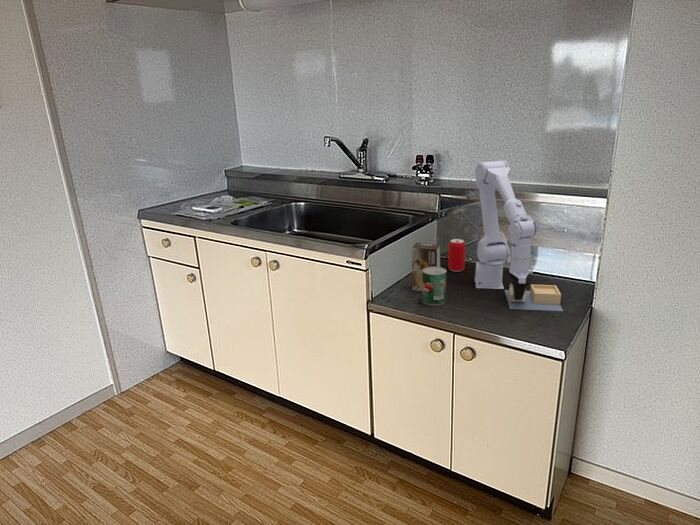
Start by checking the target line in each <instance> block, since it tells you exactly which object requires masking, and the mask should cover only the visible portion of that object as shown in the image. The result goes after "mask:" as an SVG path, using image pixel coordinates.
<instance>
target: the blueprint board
mask: <svg viewBox="0 0 700 525" xmlns="http://www.w3.org/2000/svg"><path fill="white" fill-rule="evenodd" d="M509 290H510V289H504V293H505V296H506V301H507V303H508V307H509V309H510V310H530V311H533V310H534V311H547V312H548V311H552V312H555V311H556V312H564V309H563V308H562V306H561V299H562V293H561V291H560V290H559V288H558V287H557V285H555V284H553V285H551V284H530V290H526V297H525V302H512V301H510V298H509Z"/></svg>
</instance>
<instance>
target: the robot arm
mask: <svg viewBox="0 0 700 525" xmlns="http://www.w3.org/2000/svg"><path fill="white" fill-rule="evenodd" d="M510 173H511V168H510V165H509V163H508V162H507V160H504V159H503V160H502V159H501V160H495V161H479V162H477V165H476V167H475V170H474V175H475V184H476V187H477V188H478V189H479V193H478V194H479V201H480V208H481V218H482V227H483V234H484V235H483V237H482V238H480V240H479V241H477V252H476V253H477V254H476V256H477V258H478V260H479V261H476V263H475V273H474V274H475V275H474V282H475V284H474V285H475V288H476V289H495V290H496V289H497V290H499V289H500V290H505V287H504V284H503V272H504V264H505V263H506V261H507V260H508V259H509V257H510V266H509V267H510V268H509V271H508V272H507V273H508V275H509V277H510V284H513V288H514V297H515V300H522V298H523V295H524V292H525V289H526V290H527V287H528V286H529V285H530V282H531V281H530V279H527V277H528V276H529V274H533V272H534V271H533V269H532V268H531V269H530V262H531V261H530V259H531V251H532V241H533V240H532V239H533V238H534V237H535V236H536V235H537V231H538V230H537V228H538V226H537V224H536V221H535V220H534V219H532V218H531V216H528V214H527V212H526V208H525V207H524V205H523V203H522V201H521V200H520V199H518V198H516V195H515V193H514V189H513V186H512V184H511V181H510ZM496 189H497V191H498V193H499V194H500V196H501V199H503V202H504V205H503V211H504V213H505V214H506V218H507V220H508V222H509V224H510V226H509V228H508V231H509V235H510V243H511V252H510V247H509V245H508V240H507V238H505V237H504V236H503V235H501V233H500V226H499V216H498V208H497V198H496Z"/></svg>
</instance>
